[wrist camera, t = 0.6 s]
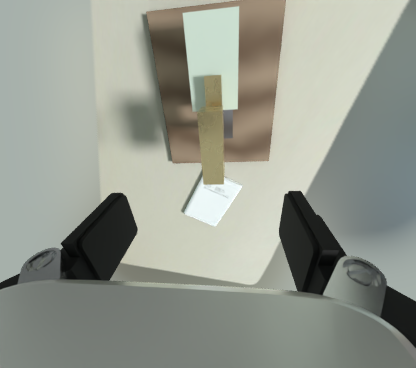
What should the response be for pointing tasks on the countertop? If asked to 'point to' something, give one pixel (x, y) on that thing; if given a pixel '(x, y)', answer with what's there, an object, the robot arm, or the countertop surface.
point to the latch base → (247, 80)
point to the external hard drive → (212, 201)
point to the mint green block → (213, 53)
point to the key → (212, 132)
